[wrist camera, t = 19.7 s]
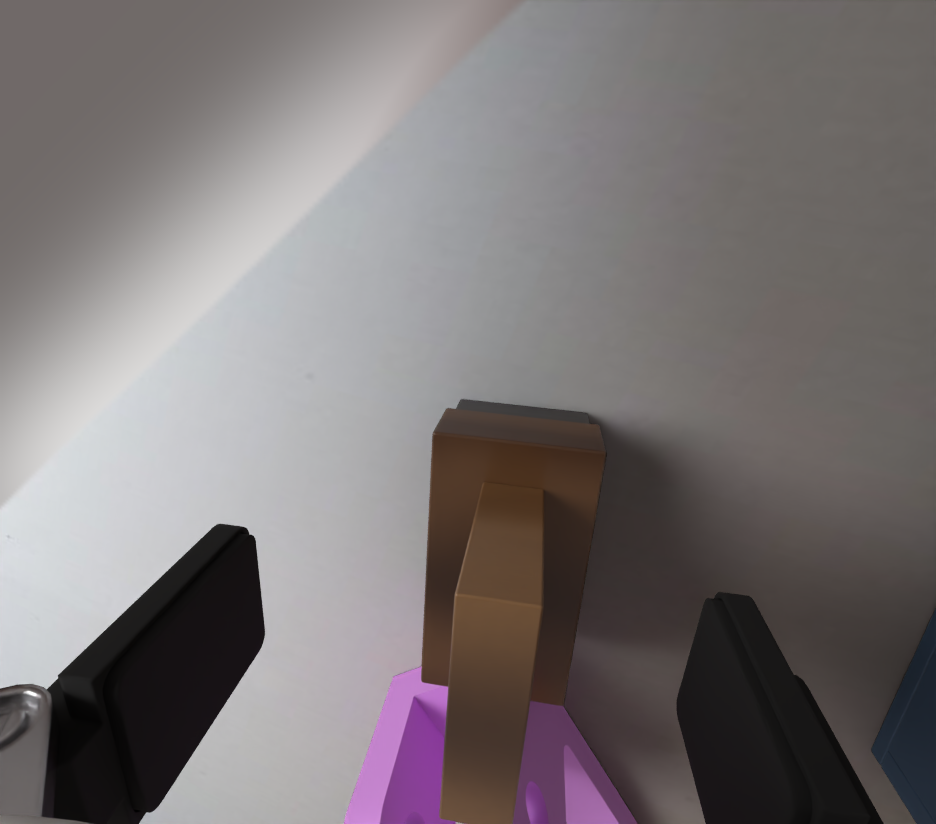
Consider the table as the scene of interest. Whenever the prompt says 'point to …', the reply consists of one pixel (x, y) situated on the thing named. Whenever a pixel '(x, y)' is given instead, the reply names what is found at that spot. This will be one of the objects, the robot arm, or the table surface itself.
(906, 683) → the tray
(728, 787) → the robot arm
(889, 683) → the table surface
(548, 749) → the bracket
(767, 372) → the table surface
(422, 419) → the table surface
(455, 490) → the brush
